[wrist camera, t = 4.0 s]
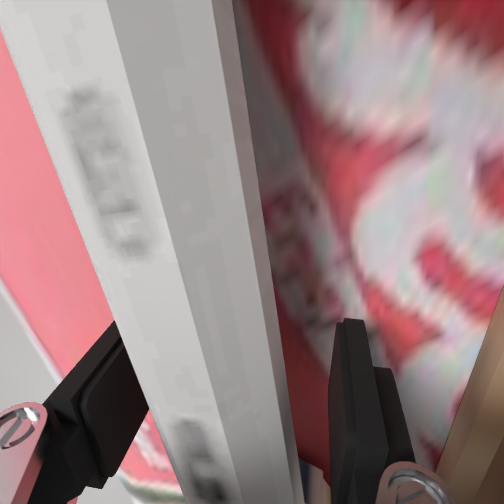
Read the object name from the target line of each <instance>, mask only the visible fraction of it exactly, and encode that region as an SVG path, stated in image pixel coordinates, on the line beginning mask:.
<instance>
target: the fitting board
mask: <svg viewBox="0 0 504 504" xmlns="http://www.w3.org/2000/svg"><path fill="white" fill-rule="evenodd" d="M435 474H436V475H437V476H438V477H440V478H441V479H442V480H443V481H444V482H445V483H446V485H447V486H448V487H449V489H450V490H451V491H452V493H453V495H454V497H455V499H456V501H457V504H504V287H503V289H502V292H501V295H500V297H499V300H498V303H497V306H496V308H495V311H494V314H493V316H492V319H491V322H490V325H489V327H488V330H487V333H486V335H485V338H484V341H483V344H482V346H481V349H480V352H479V354H478V357H477V360H476V363H475V365H474V368H473V371H472V373H471V376H470V379H469V382H468V384H467V387H466V390H465V392H464V395H463V398H462V401H461V403H460V406H459V409H458V411H457V414H456V417H455V420H454V422H453V425H452V428H451V431H450V433H449V436H448V439H447V441H446V444H445V447H444V450H443V452H442V455H441V458H440V460H439V463H438V466H437V469H436V471H435Z"/></svg>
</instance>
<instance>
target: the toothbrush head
mask: <svg viewBox="0 0 504 504" xmlns="http://www.w3.org/2000/svg"><path fill="white" fill-rule="evenodd" d="M0 30H1V32H2V35H3V37H4V40H5V42H6V45H7V47H8V50H9V52H10V55H11V58H12V60H13V63H14V65H15V68H16V70H17V73H18V75H19V78H20V80H21V83H22V86H23V88H24V91H25V93H26V96H27V98H28V101H29V103H30V106H31V108H32V111H33V113H34V116H35V119H36V121H37V124H38V126H39V129H40V131H41V134H42V136H43V139H44V141H45V144H46V147H47V149H48V152H49V154H50V157H51V159H52V162H53V164H54V167H55V169H56V172H57V175H58V177H59V180H60V182H61V185H62V187H63V190H64V192H65V195H66V197H67V200H68V203H69V205H70V208H71V210H72V213H73V215H74V218H75V220H76V223H77V225H78V228H79V230H80V233H81V236H82V238H83V241H84V243H85V246H86V248H87V251H88V253H89V256H90V258H91V261H92V264H93V266H94V269H95V271H96V274H97V276H98V279H99V281H100V284H101V286H102V289H103V292H104V294H105V297H106V299H107V302H108V304H109V307H110V309H111V312H112V314H113V317H114V320H115V322H116V325H117V327H118V330H119V332H120V335H121V337H122V340H123V342H124V345H125V347H126V350H127V353H128V355H129V358H130V360H131V363H132V365H133V368H134V370H135V373H136V375H137V378H138V381H139V383H140V386H141V388H142V391H143V393H144V396H145V398H146V401H147V403H148V406H149V409H150V411H151V414H152V416H153V419H154V421H155V424H156V426H157V429H158V431H159V434H160V436H161V439H162V442H163V444H164V447H165V449H166V452H167V454H168V457H169V459H170V462H171V464H172V467H173V470H174V472H175V475H176V477H177V480H178V482H179V485H180V487H181V490H182V492H183V495H184V498H185V500H186V503H187V504H331V488H330V487H329V485H328V484H327V483H326V481H325V480H324V479H323V471H322V470H320V469H318V468H317V467H315V466H313V465H311V464H309V463H307V462H305V461H303V460H301V459H299V458H298V454H297V447H296V440H295V433H294V426H293V419H292V412H291V406H290V399H289V392H288V385H287V378H286V371H285V364H284V357H283V350H282V343H281V336H280V330H279V323H278V316H277V309H276V302H275V295H274V288H273V281H272V274H271V267H270V260H269V254H268V247H267V240H266V233H265V226H264V219H263V212H262V205H261V198H260V191H259V184H258V178H257V171H256V164H255V157H254V150H253V143H252V136H251V129H250V122H249V115H248V108H247V102H246V95H245V88H244V81H243V74H242V67H241V60H240V53H239V46H238V39H237V32H236V26H235V19H234V12H233V5H232V0H0Z"/></svg>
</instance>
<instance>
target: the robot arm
mask: <svg viewBox="0 0 504 504" xmlns="http://www.w3.org/2000/svg"><path fill="white" fill-rule="evenodd" d="M148 410H149V406H148V403H147V401H146V398H145V396H144V393H143V391H142V388H141V386H140V383H139V381H138V378H137V375H136V373H135V370H134V368H133V365H132V363H131V360H130V358H129V355H128V353H127V350H126V347H125V345H124V342H123V340H122V337H121V335H120V332H119V330H118V327H117V325H116V322H115V320H114V321H113V323H112V324H111V325H110V326H109V327H108V328H107V330H106V331H105V332H104V333H103V334H102V335H101V337H100V338H99V339H98V340H97V341H96V342H95V344H94V345H93V346H92V347H91V348H90V349H89V351H88V352H87V353H86V354H85V355H84V356H83V357H82V359H81V360H80V361H79V362H78V363H77V364H76V366H75V367H74V368H73V369H72V370H71V371H70V373H69V374H68V375H67V376H66V377H65V378H64V380H63V381H62V382H61V383H60V384H59V385H58V387H57V388H56V389H55V390H54V391H53V392H52V394H51V395H50V396H49V397H48V398H47V399H46V401H45V402H44V403H43V404H39V403H35V402H26V403H22V404H18V405H15V406H12V407H10V408H8V409H6V410H4V411H2V412H1V413H0V504H76V502H77V498H78V496H79V495H81V493H82V492H83V490H84V488H85V487H86V486H88V487H93V488H98V489H102V488H103V486H104V484H105V483H106V481H107V479H108V477H112V476H114V475H115V473H116V472H117V470H118V468H119V466H120V464H121V462H122V461H123V459H124V457H125V455H126V453H127V451H128V449H129V447H130V445H131V443H132V441H133V439H134V437H135V435H136V433H137V432H138V430H139V428H140V426H141V424H142V422H143V420H144V418H145V416H146V414H147V412H148ZM328 417H329V448H330V480H331V504H457V501H456V499H455V497H454V495H453V493H452V491H451V490H450V489H449V487H448V486H447V485H446V483H445V482H444V481H443V480H442V479H441V478H440V477H438V476H437V475H436V474H435V473H434V472H433V471H431V470H429V469H427V468H426V467H424V466H422V465H419V464H416V461H415V457H414V453H413V449H412V445H411V441H410V437H409V434H408V430H407V426H406V422H405V418H404V414H403V410H402V407H401V403H400V399H399V395H398V391H397V387H396V383H395V380H394V376H393V373H392V371H391V369H389V368H381V367H373V364H372V359H371V354H370V349H369V343H368V338H367V333H366V328H365V323H364V320H360V319H350V318H344V321H343V323H341V322H337V324H336V331H335V339H334V347H333V354H332V362H331V370H330V377H329V385H328Z"/></svg>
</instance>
